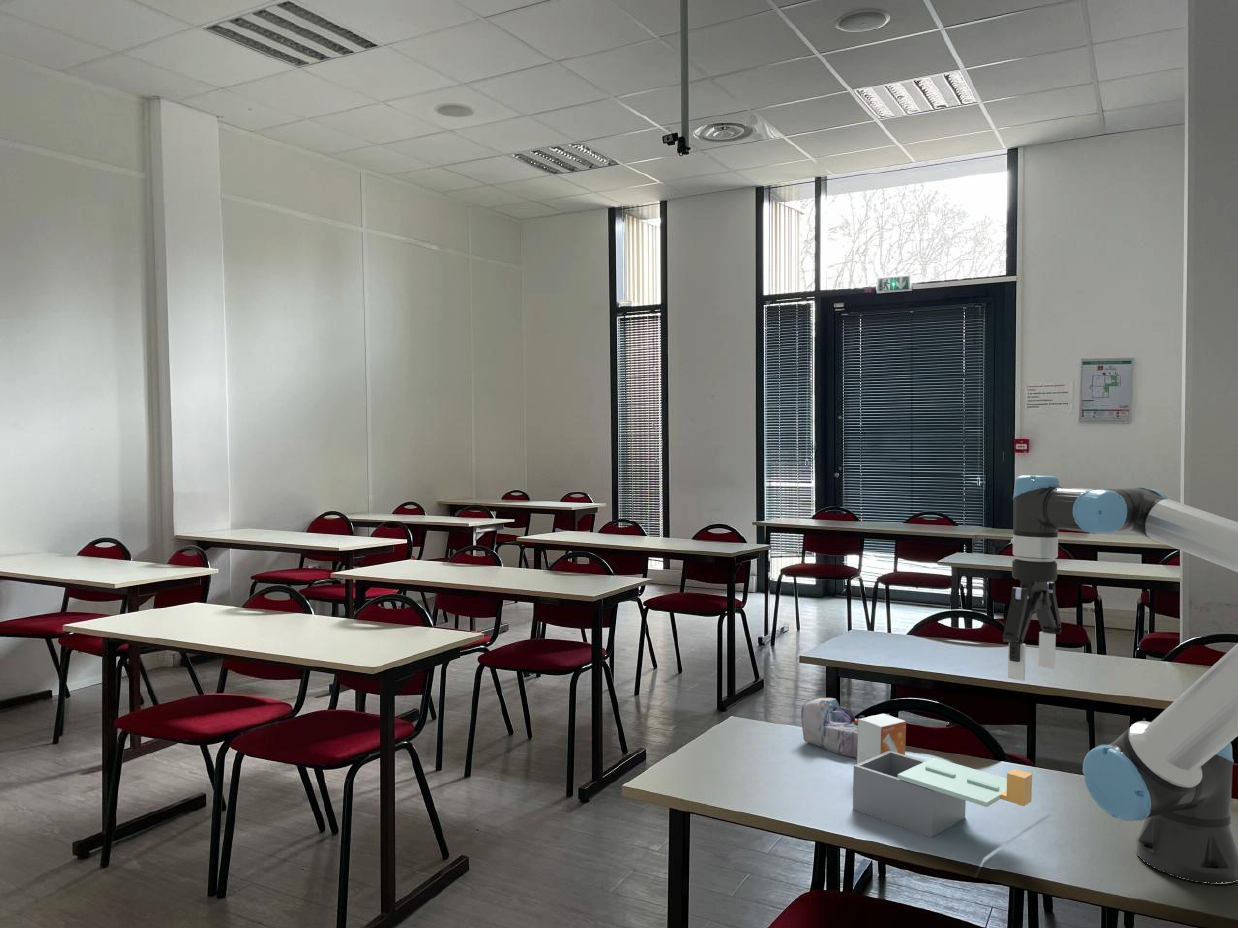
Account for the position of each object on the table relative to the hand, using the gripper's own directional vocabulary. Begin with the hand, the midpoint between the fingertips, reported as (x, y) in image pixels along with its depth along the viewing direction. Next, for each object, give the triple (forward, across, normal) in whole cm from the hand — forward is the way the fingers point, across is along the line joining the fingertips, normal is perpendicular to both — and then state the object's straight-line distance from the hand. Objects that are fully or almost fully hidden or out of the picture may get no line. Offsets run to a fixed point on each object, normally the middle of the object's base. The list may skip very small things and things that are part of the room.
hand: (1031, 673), depth 160 cm
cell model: (+29, -11, -46) cm, 56 cm away
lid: (+19, +13, -5) cm, 24 cm away
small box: (+29, +1, -30) cm, 42 cm away
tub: (+29, +13, -17) cm, 36 cm away
